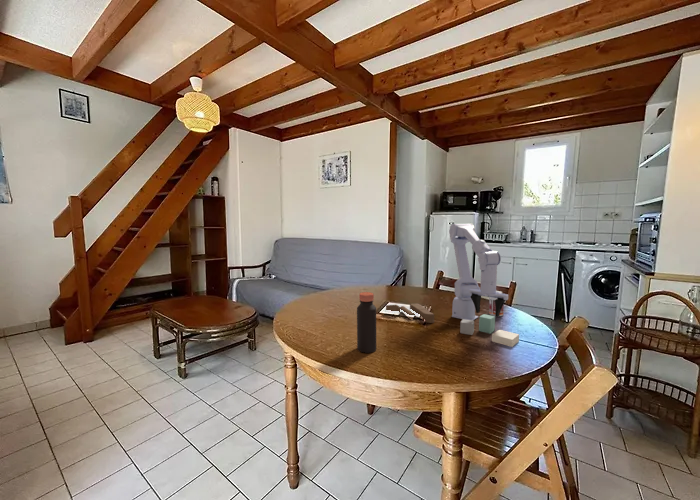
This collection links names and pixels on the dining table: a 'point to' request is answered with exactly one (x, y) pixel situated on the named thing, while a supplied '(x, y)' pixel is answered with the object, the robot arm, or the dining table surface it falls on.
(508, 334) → the cream slab
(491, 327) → the teal block
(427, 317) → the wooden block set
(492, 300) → the pill bottle
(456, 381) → the dining table surface
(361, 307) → the vinegar
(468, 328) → the grey block
